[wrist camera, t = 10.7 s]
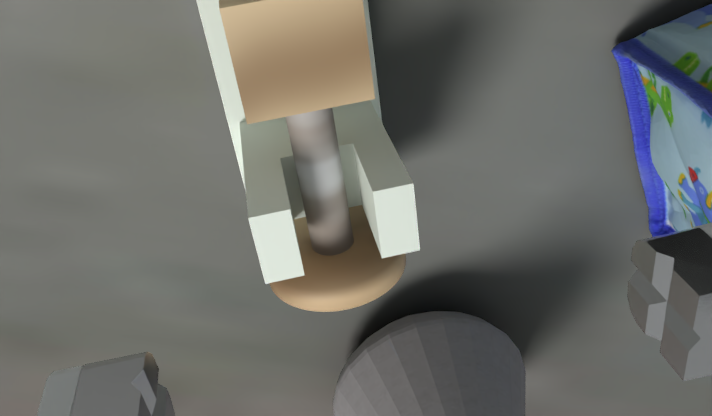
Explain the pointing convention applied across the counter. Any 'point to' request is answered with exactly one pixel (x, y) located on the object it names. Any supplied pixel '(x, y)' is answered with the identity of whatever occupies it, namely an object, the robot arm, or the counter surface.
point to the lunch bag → (672, 118)
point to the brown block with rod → (313, 135)
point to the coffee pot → (433, 370)
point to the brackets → (279, 176)
